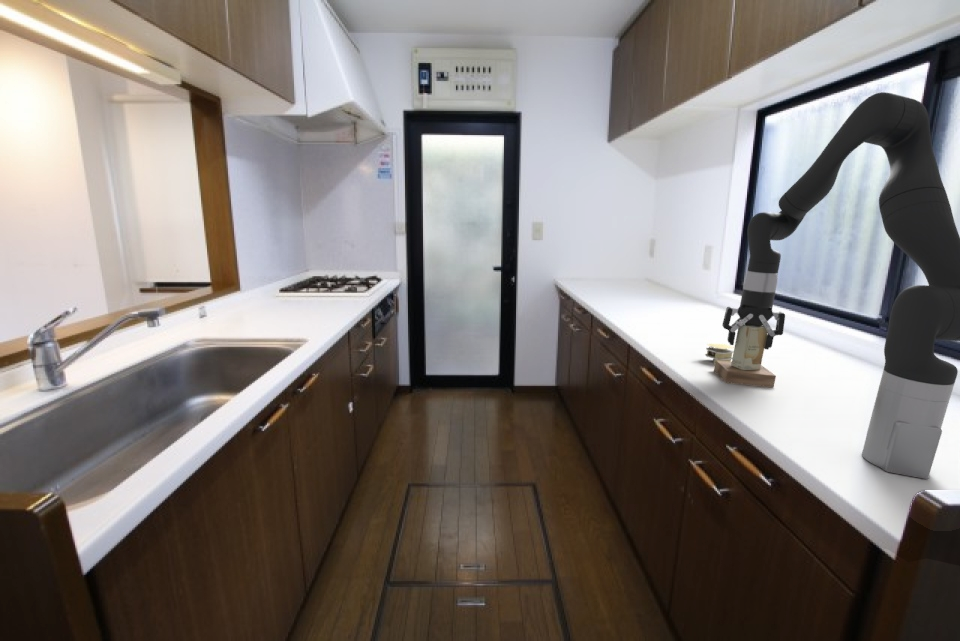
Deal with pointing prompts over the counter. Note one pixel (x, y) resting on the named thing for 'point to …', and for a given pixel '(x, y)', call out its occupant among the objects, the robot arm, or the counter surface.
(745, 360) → the skincare box
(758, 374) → the walnut block
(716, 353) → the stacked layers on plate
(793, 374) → the counter surface
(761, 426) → the counter surface
